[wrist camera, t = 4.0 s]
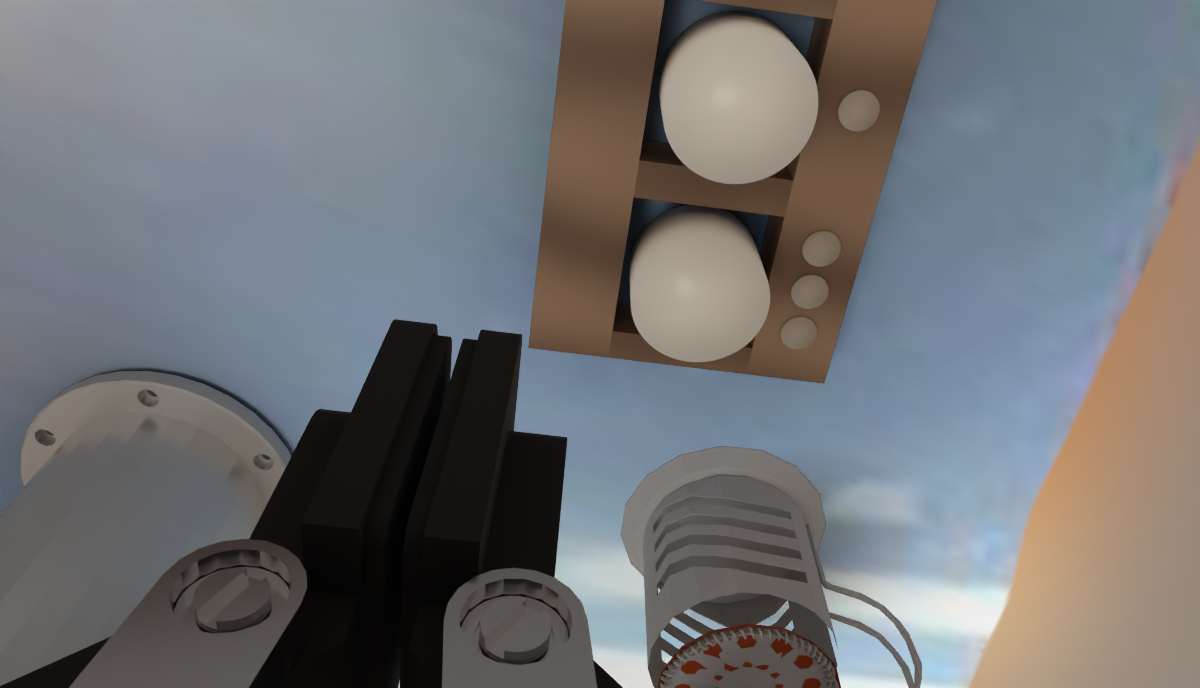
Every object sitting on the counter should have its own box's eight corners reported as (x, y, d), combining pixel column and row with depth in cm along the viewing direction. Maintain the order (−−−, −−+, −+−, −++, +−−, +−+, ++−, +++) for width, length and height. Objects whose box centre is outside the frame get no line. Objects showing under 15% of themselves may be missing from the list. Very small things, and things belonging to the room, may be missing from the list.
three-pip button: (743, 328, 37) (753, 369, 35) (620, 313, 37) (621, 353, 34) (770, 213, 35) (784, 247, 32) (639, 196, 35) (641, 229, 32)
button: (782, 162, 34) (797, 193, 31) (648, 144, 34) (651, 173, 31) (816, 22, 32) (835, 41, 29) (671, 1, 31) (676, 19, 29)
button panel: (812, 352, 40) (825, 386, 37) (533, 318, 39) (527, 350, 37) (983, -254, 29) (1016, -260, 27) (601, -315, 28) (601, -327, 26)
